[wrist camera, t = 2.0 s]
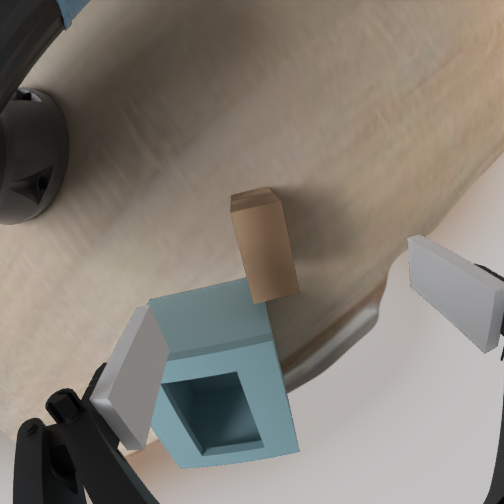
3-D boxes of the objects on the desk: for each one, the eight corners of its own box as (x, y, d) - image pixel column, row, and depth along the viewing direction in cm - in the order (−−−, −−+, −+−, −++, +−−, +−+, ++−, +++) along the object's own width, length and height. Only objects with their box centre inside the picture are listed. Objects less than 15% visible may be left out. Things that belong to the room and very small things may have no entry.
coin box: (190, 393, 37) (180, 468, 25) (149, 299, 32) (115, 368, 21) (283, 376, 37) (299, 451, 25) (258, 274, 32) (272, 340, 21)
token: (248, 262, 32) (253, 303, 23) (231, 195, 30) (230, 212, 21) (281, 254, 32) (299, 292, 23) (267, 186, 30) (281, 200, 21)
